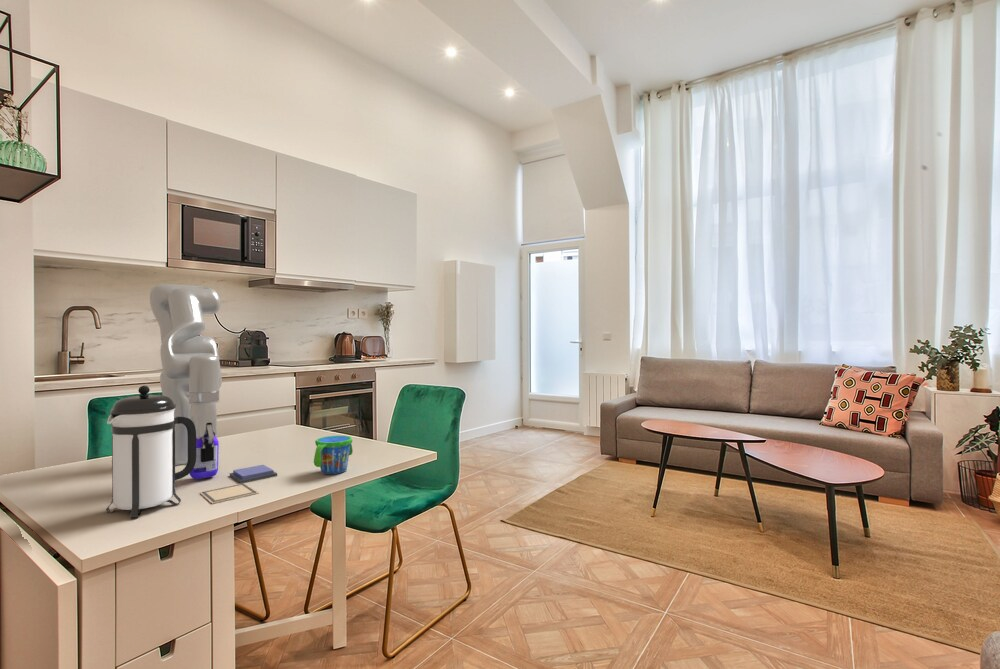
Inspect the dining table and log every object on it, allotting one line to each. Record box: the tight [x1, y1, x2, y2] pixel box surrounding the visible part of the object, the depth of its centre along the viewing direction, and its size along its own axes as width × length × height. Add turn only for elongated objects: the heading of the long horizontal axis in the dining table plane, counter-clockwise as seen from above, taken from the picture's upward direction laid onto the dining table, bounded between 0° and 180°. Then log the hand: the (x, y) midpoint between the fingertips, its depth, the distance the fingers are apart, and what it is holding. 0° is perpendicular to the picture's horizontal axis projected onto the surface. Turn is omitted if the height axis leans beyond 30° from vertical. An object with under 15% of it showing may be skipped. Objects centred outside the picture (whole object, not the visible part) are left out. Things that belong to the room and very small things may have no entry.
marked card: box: [199, 482, 259, 505], centre depth 127 cm, size 11×11×1 cm
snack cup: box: [313, 435, 353, 475], centre depth 147 cm, size 16×10×10 cm
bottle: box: [188, 432, 220, 480], centre depth 140 cm, size 7×6×17 cm
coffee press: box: [105, 385, 196, 520], centre depth 118 cm, size 17×16×30 cm
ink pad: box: [229, 464, 278, 484], centre depth 143 cm, size 10×10×2 cm
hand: (204, 458), depth 140 cm, fingers closed on bottle, 5 cm apart
